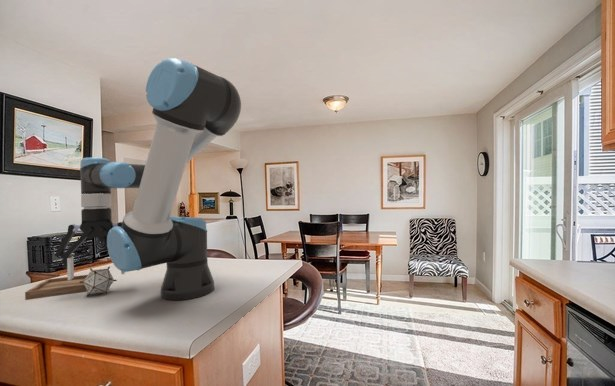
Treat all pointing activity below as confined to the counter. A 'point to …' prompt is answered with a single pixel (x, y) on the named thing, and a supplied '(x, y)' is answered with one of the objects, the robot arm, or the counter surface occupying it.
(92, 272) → the game die
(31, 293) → the walnut tray
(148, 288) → the counter surface
